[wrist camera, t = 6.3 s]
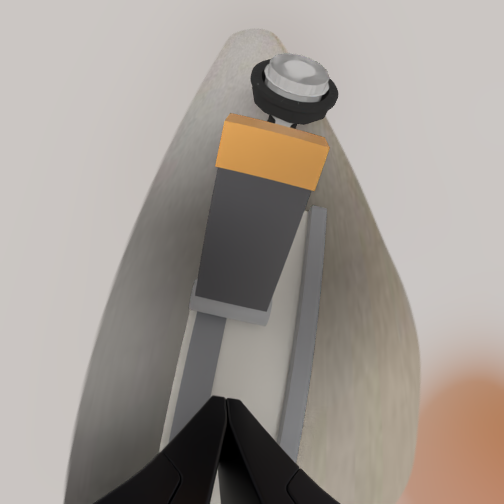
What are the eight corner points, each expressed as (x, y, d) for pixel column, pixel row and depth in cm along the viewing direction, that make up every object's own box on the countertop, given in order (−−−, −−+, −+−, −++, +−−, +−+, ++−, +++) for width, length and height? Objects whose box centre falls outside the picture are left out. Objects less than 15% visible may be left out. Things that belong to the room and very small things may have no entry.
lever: (263, 332, 17) (332, 149, 11) (187, 315, 16) (221, 120, 11) (265, 310, 18) (326, 137, 12) (194, 294, 18) (228, 112, 12)
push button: (245, 131, 27) (268, 32, 18) (304, 148, 27) (344, 55, 18) (224, 188, 24) (244, 77, 15) (293, 208, 24) (343, 107, 15)
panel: (269, 520, 14) (282, 539, 11) (152, 502, 14) (145, 520, 11) (313, 233, 24) (329, 209, 21) (219, 210, 23) (223, 182, 20)
